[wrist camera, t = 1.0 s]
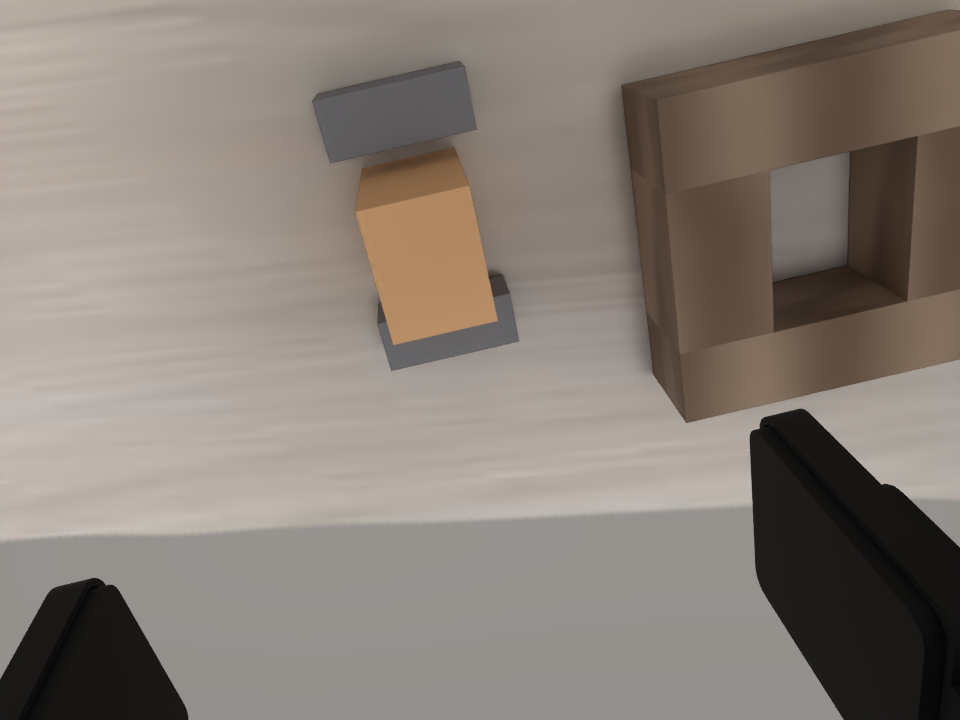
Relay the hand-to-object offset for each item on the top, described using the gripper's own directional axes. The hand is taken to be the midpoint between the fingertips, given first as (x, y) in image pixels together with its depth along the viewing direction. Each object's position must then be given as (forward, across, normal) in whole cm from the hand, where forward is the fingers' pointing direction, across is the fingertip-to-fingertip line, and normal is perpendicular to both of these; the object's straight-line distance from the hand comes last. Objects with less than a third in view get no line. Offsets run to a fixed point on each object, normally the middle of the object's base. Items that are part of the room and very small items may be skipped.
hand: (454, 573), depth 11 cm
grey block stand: (+19, 0, 0) cm, 19 cm away
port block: (+19, -14, +3) cm, 24 cm away
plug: (+19, 0, 0) cm, 19 cm away
